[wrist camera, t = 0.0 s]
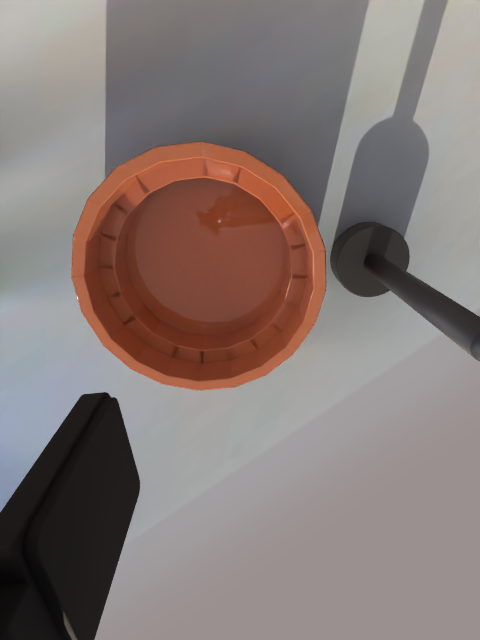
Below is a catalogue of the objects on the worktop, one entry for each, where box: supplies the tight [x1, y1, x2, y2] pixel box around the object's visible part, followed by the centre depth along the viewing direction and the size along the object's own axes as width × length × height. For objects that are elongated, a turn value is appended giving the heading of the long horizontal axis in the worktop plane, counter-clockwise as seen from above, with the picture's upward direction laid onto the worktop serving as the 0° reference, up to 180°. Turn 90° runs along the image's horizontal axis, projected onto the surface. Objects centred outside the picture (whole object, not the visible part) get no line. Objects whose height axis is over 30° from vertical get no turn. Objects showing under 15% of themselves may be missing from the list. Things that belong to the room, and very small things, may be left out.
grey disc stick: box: [330, 222, 480, 361], centre depth 21 cm, size 5×5×16 cm
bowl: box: [72, 141, 326, 390], centre depth 25 cm, size 16×16×6 cm
